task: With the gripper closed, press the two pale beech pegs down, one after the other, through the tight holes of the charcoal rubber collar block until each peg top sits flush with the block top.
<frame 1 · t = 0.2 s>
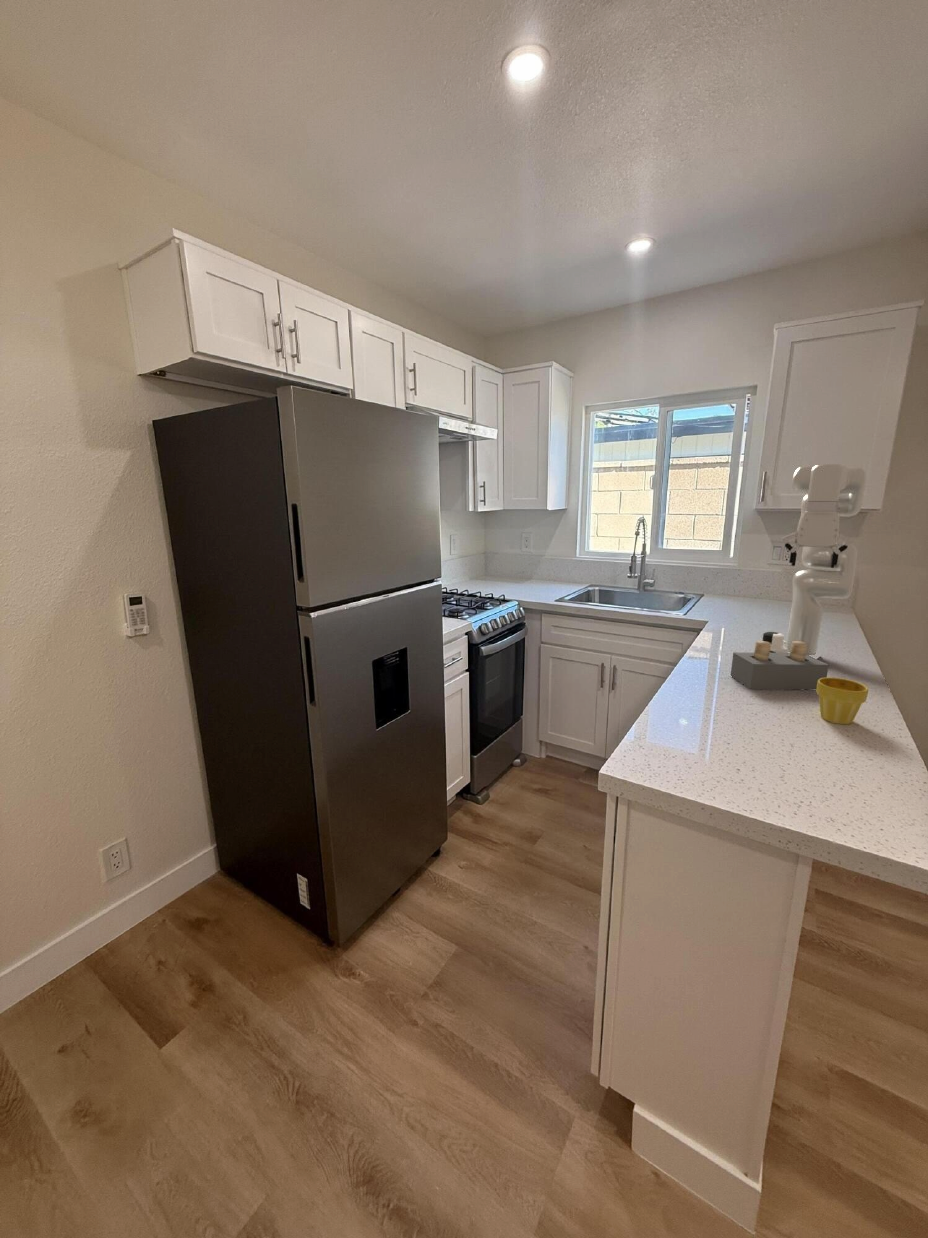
hand: (811, 566, 149), 36 cm above the counter, tool pointing down, fingers open, 9 cm apart
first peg: (798, 653, 153), point 10 cm above the counter, slide at 0.0 cm
medicine bottle: (769, 667, 170), on the counter
plant pot: (836, 720, 129), on the counter
collar block: (775, 682, 155), on the counter
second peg: (761, 653, 153), point 10 cm above the counter, slide at 0.0 cm
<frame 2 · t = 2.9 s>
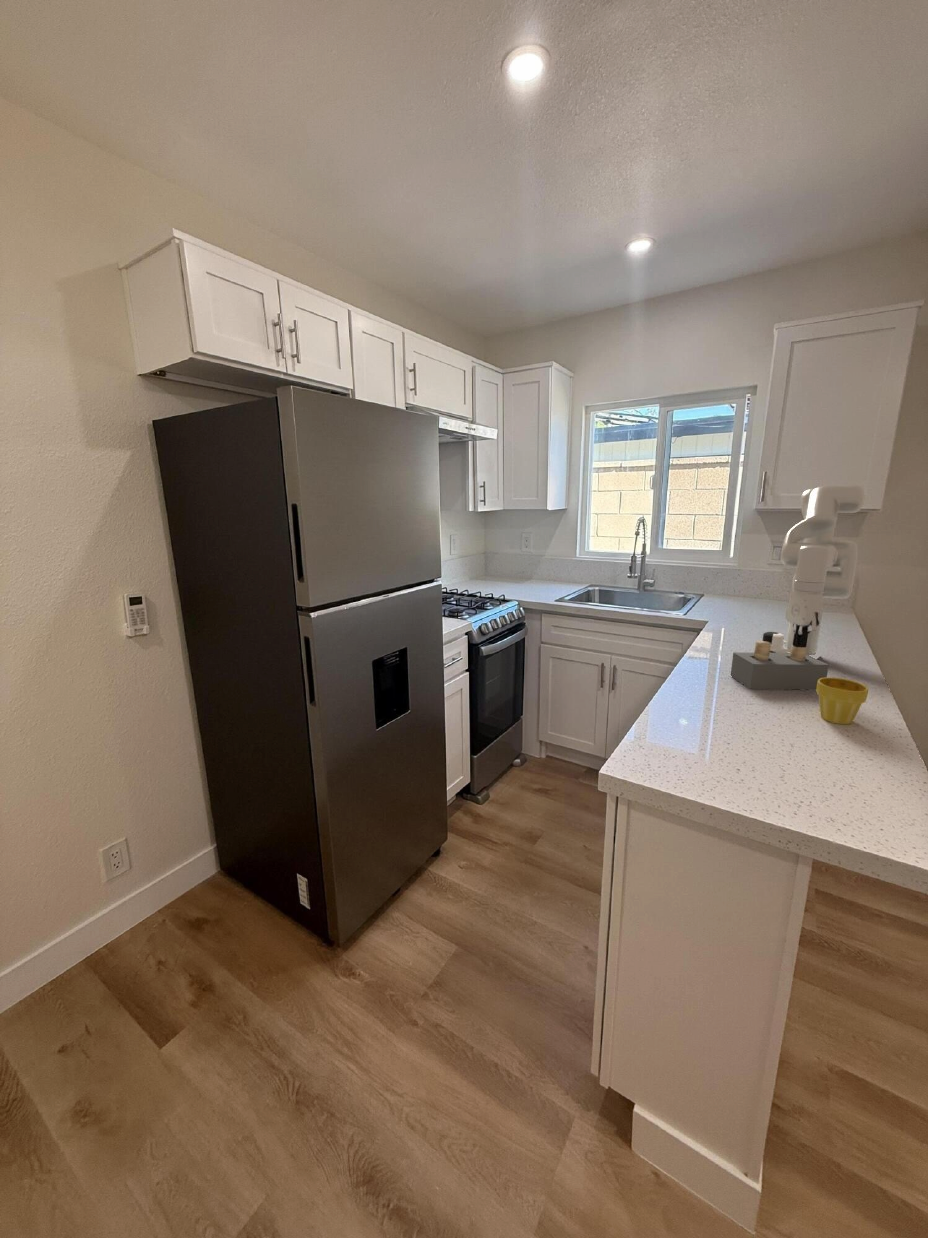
hand: (799, 646, 152), 12 cm above the counter, tool pointing down, fingers closed
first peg: (797, 657, 153), point 8 cm above the counter, slide at 1.1 cm, touching gripper
everything else where it was.
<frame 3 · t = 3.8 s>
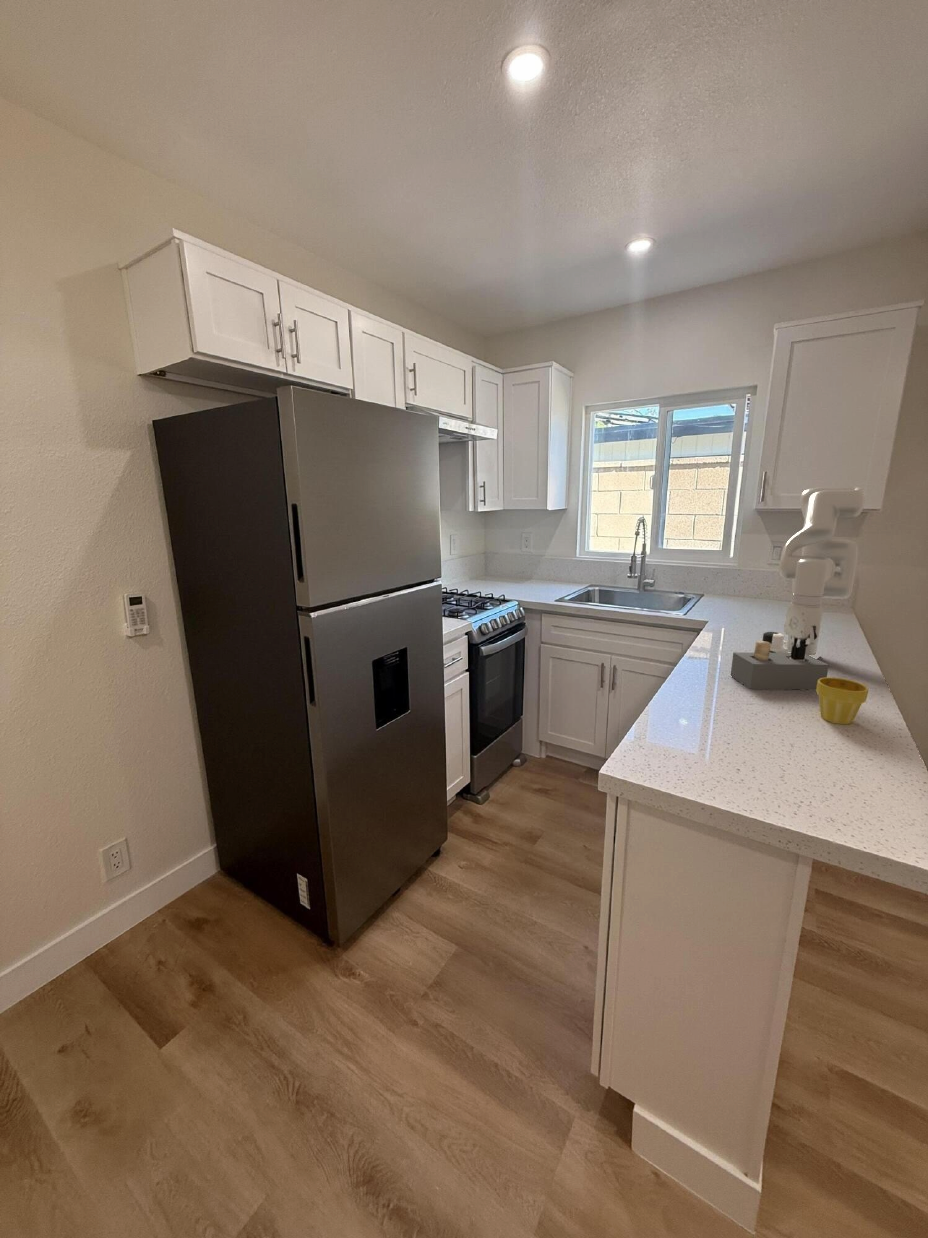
hand: (797, 658, 153), 8 cm above the counter, tool pointing down, fingers closed
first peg: (795, 669, 154), point 4 cm above the counter, slide at 5.1 cm, touching gripper
everything else where it was.
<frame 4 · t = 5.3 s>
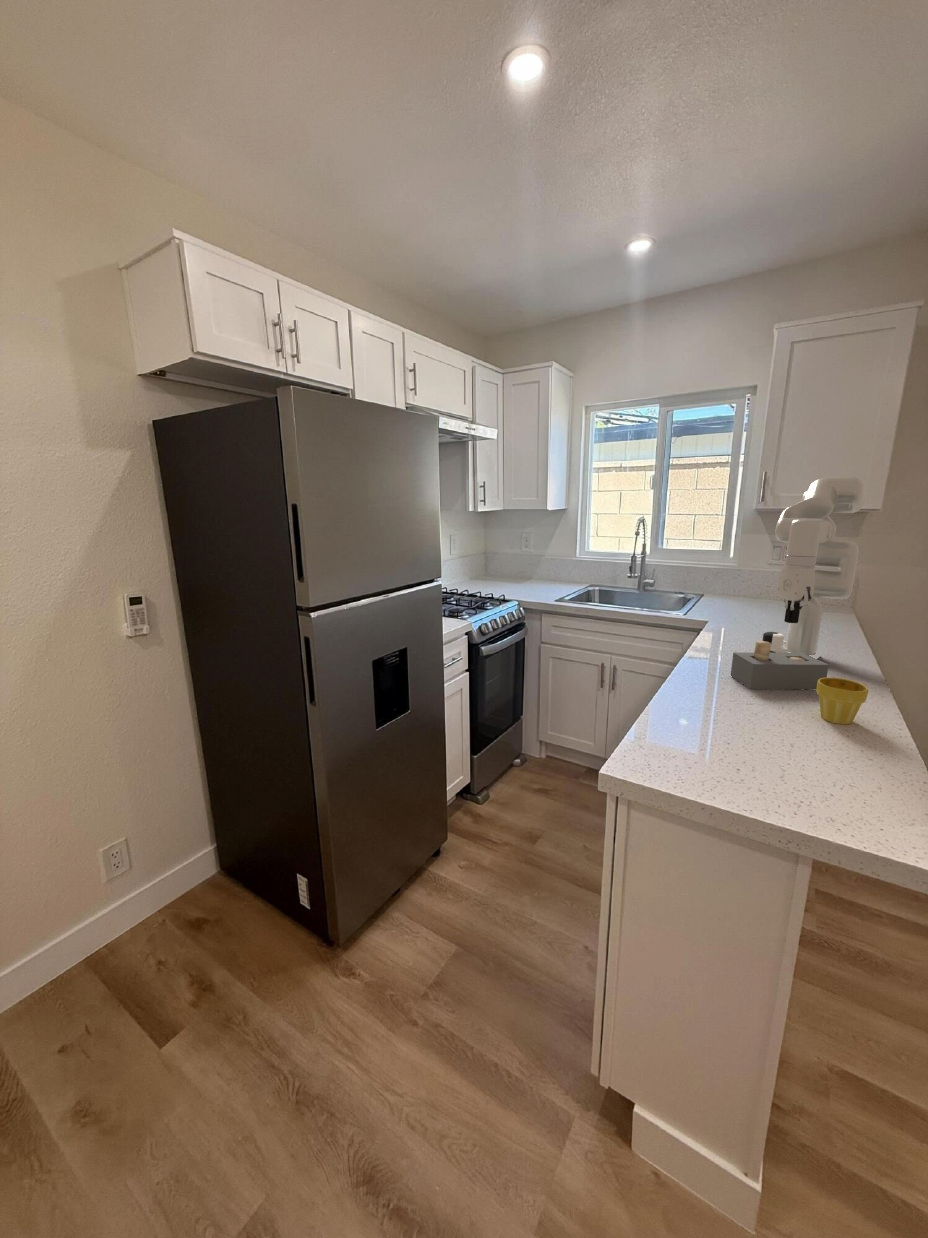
hand: (791, 622, 150), 20 cm above the counter, tool pointing down, fingers closed
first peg: (795, 669, 154), point 4 cm above the counter, slide at 5.2 cm
everything else where it was.
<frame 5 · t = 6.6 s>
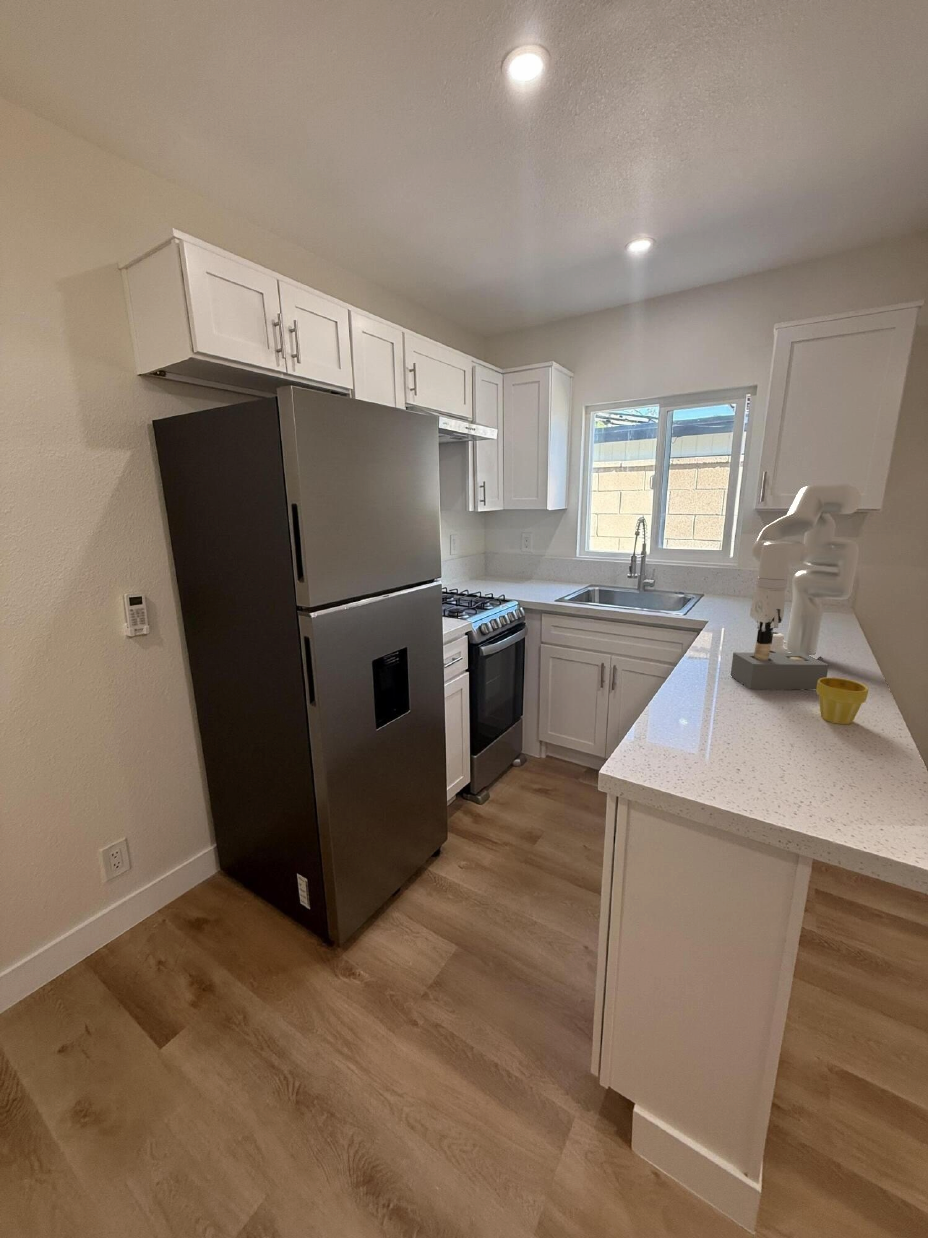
hand: (763, 643, 152), 13 cm above the counter, tool pointing down, fingers closed
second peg: (761, 654, 153), point 9 cm above the counter, slide at 0.2 cm, touching gripper
everything else where it was.
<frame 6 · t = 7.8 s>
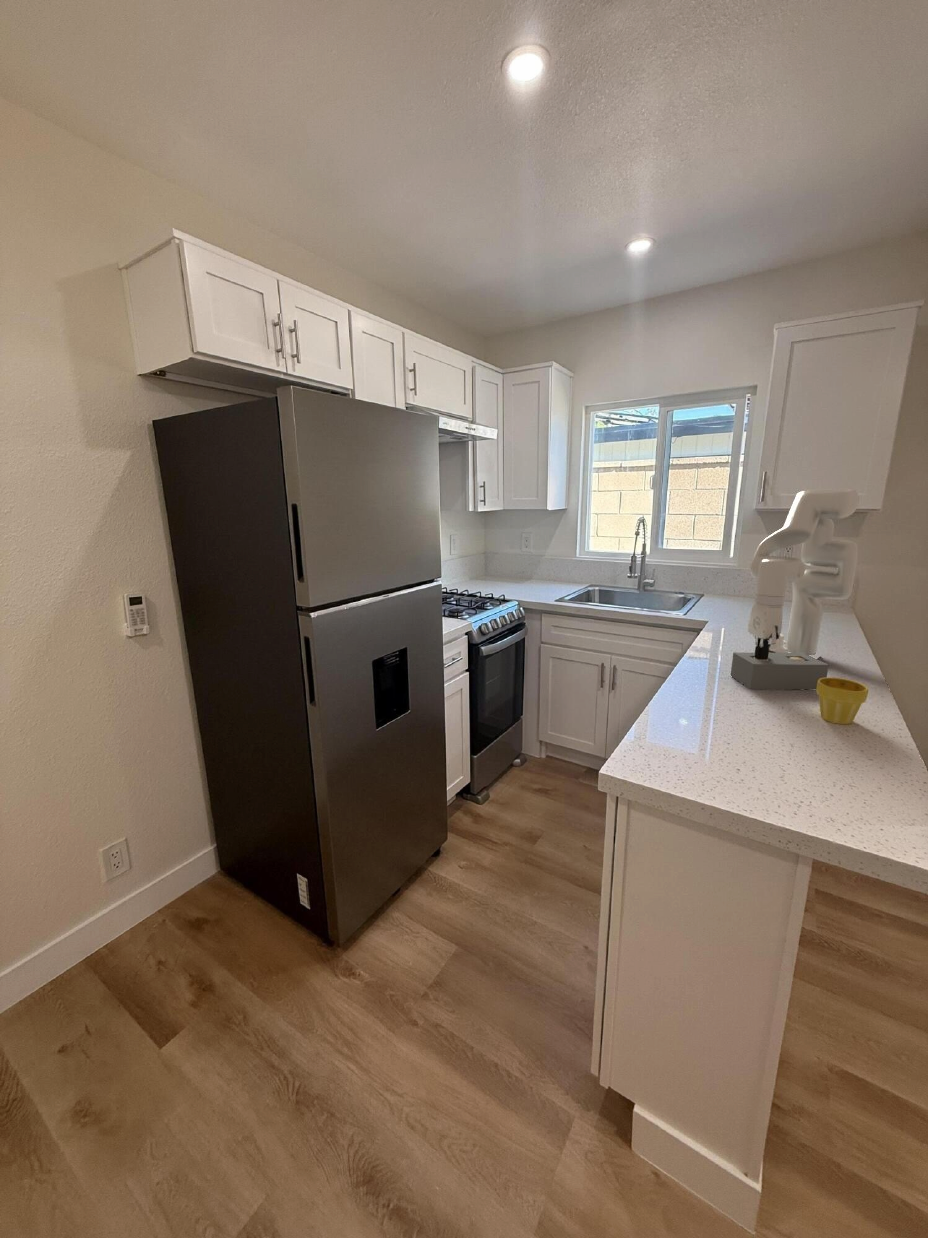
hand: (760, 658, 153), 8 cm above the counter, tool pointing down, fingers closed
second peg: (759, 669, 154), point 4 cm above the counter, slide at 5.2 cm, touching gripper
everything else where it was.
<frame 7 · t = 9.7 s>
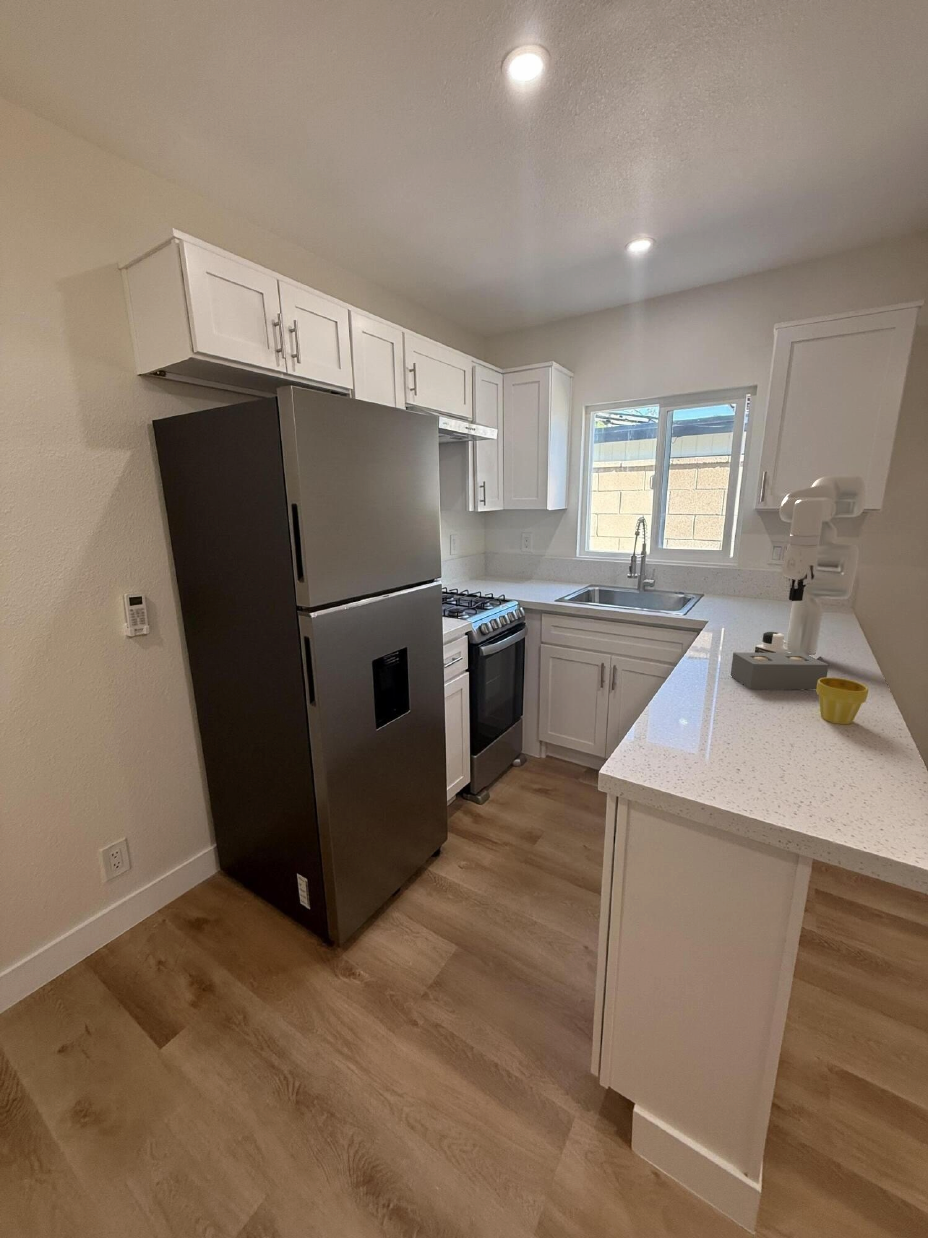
hand: (795, 600, 154), 25 cm above the counter, tool pointing down, fingers closed
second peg: (759, 669, 154), point 4 cm above the counter, slide at 5.2 cm
everything else where it was.
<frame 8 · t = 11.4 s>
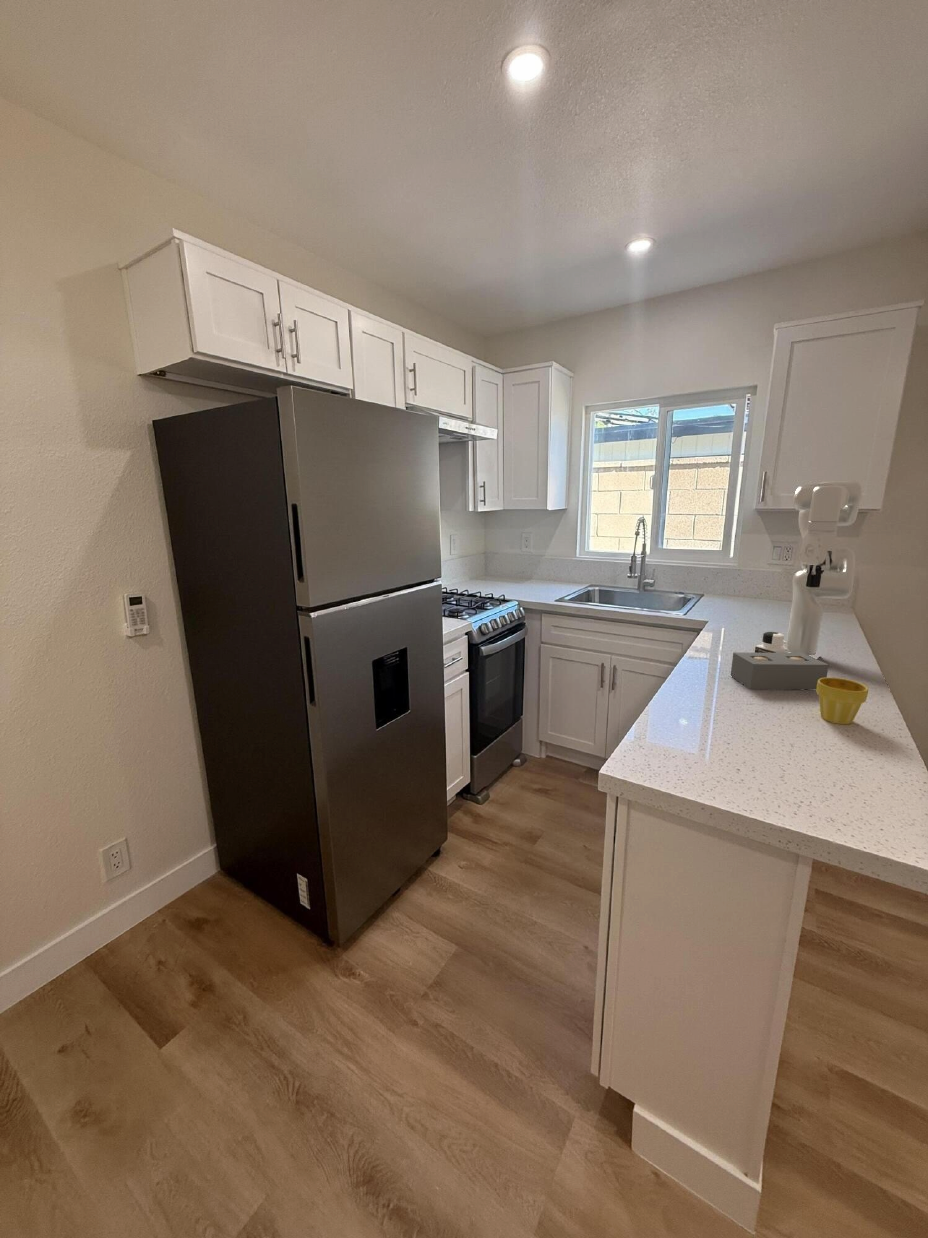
hand: (812, 586, 156), 29 cm above the counter, tool pointing down, fingers closed
nothing on the counter moved.
at the end: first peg slide at 5.2 cm; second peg slide at 5.2 cm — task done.
